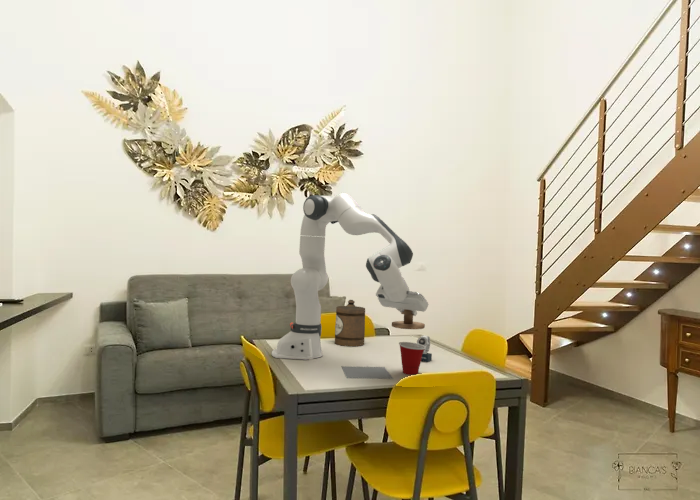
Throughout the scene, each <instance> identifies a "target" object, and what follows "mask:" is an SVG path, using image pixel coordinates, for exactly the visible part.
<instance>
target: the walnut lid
mask: <svg viewBox="0 0 700 500" xmlns="http://www.w3.org/2000/svg"><path fill="white" fill-rule="evenodd" d="M411 312H412V310H407V309H404V314H403V320H398V321H397V320H395V321H392V322H391V327H393V328H396V329H403V330H422V329H425V326H426V325H425V323H423V322H419V321H414V316H413V315H412V314H411Z"/></svg>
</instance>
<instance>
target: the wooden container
mask: <svg viewBox="0 0 700 500" xmlns="http://www.w3.org/2000/svg"><path fill="white" fill-rule="evenodd" d="M335 310H336V314H335V325H334V328H335V330H334V344H336V345H338V346H344V347H362V346H363V345H365V332H366V308H365V307H364V306H357V305H355V300H353V299H349V300H348V301H347V304H346V305H337V306H336V309H335Z"/></svg>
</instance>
